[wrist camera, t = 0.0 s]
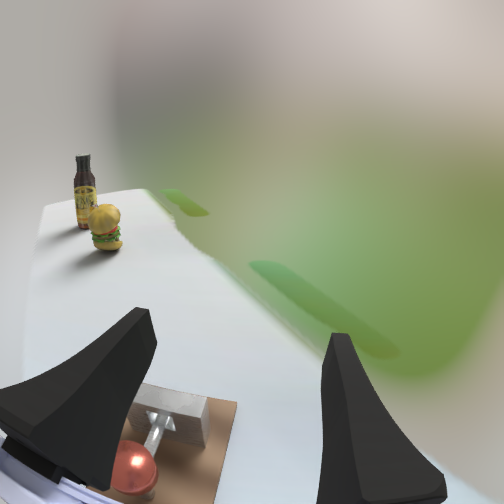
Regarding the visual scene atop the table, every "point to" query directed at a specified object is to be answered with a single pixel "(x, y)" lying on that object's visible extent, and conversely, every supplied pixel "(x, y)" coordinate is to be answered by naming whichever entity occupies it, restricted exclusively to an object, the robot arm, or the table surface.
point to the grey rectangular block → (171, 414)
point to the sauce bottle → (84, 190)
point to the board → (185, 462)
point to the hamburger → (105, 227)
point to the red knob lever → (138, 463)
